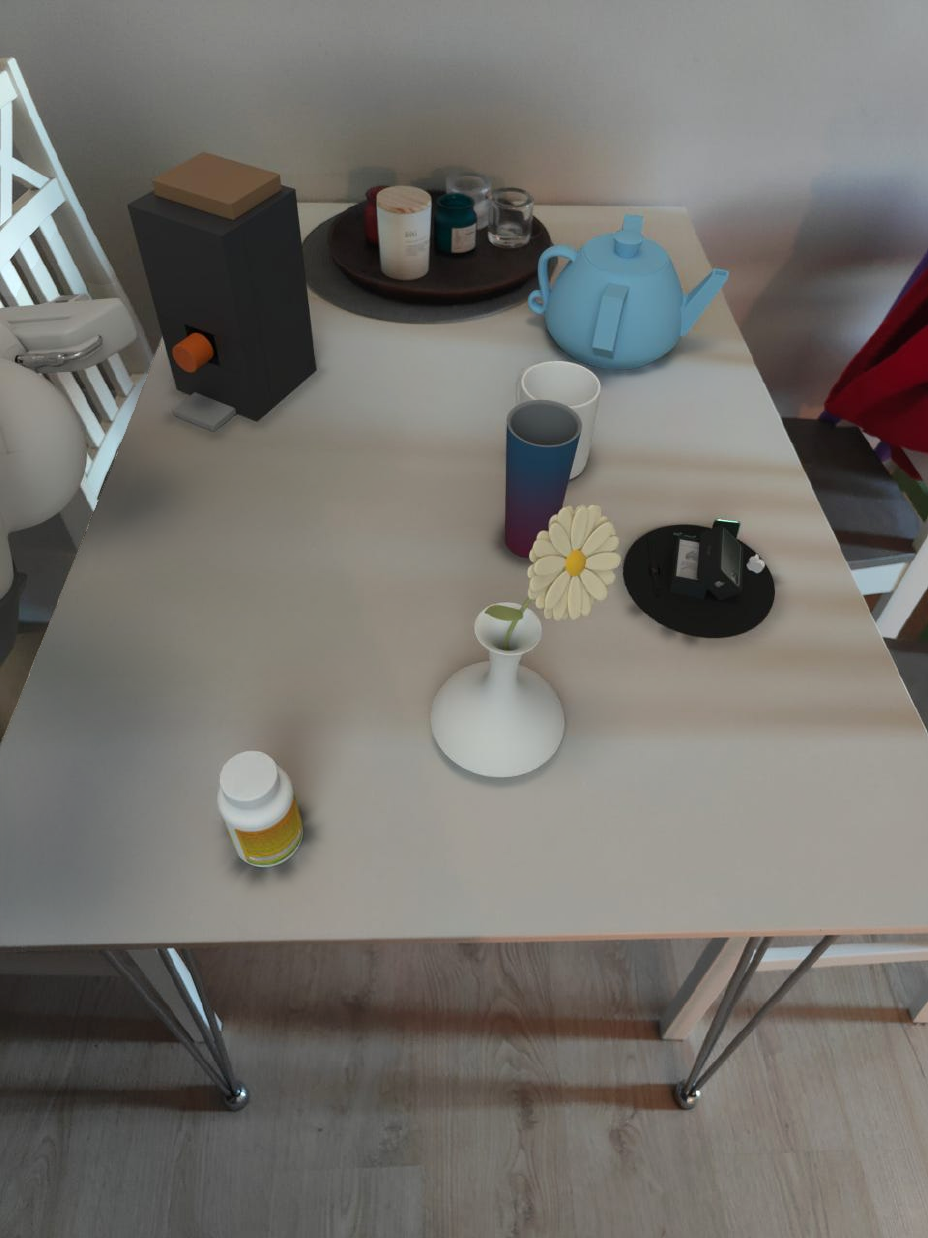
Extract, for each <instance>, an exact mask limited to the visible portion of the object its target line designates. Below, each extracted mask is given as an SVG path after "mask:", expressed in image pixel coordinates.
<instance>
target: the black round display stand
mask: <svg viewBox="0 0 928 1238" xmlns="http://www.w3.org/2000/svg"><path fill="white" fill-rule="evenodd" d="M741 525H742V523H741V522H740V520H732V519H724V518H723V519H722V518H715V519H714V520H713V523H712V527H709V526H704V525H698V524H672V525H665V526H661V527H658V528H654V529H652V530H650V531H648V532H646V533H644V534H643V535H641V536H640V537H638V538H637V539H636V540H635V541H634V542H633V543H632V544H631V546H630V547H629V548H628V550H627V552H626V554H625V558H624V561H623V565H622V576H623V582H624V586H625V589H626V590H627V592H628V594H629V596H630V597H631V599H632V600H633V602H634V603H635V604H636V606H637V607H638V608H639V609H640V610H641V611H642V612H643V613H645V614H646V615H647V616H648V617H649V618H651V619H652V620H654V621H655V622H657V623H658V624H659V625H662V626H663V627H666V628H668V629H670V630H672V631H675V632H677V633H680V634H684V635H687V636H692V637H695V638H706V639H724V638H730V637H735V636H739V635H742V634H744V633H747V632H749V631H751V630H753V629H754V628H756V627H757V626H759V625H760V624H761V623H762V622H763V621H765V619H766V618H767V616H768V615H769V613H770V612H771V610H772V608H773V605H774V602H775V598H776V587H775V581H774V577H773V575H772V573H771V571H770V569H769V566H768V565H767V564H766V562H765V561H764V560H763V559H762V557H761V556H760V555H759V554H758V553H757V552H756V551H755V550H754V549H753V548H752V547H750V546H749V545H748V544H747V543H745V542H744V541H742V540H740V539H738V538H737V537H738V535H739V532H740V528H741Z"/></svg>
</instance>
